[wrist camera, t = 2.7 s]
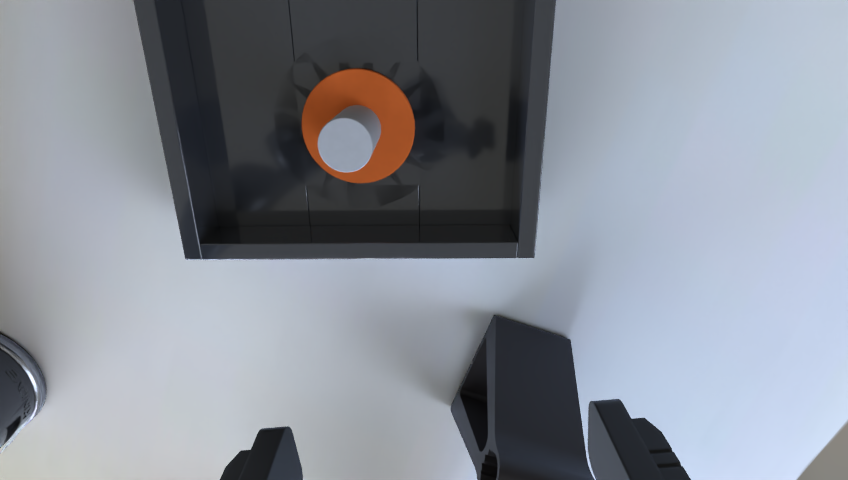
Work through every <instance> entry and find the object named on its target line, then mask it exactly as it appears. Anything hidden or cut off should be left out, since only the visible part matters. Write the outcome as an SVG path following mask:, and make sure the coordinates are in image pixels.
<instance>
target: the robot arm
mask: <svg viewBox="0 0 848 480" xmlns="http://www.w3.org/2000/svg"><path fill="white" fill-rule="evenodd" d="M45 399H46V384H45V380H44V377H43V374H42V372H41V370H40V368H39V367H38V365H37V364H36V362H35V361H34V360H33V358H32V357H31V356H30V355H29V354H28V353H27V352H26V351H25V350H24V349H23V348H21V347H20V346H19V345H18V344H16V343H15V342H13V341H12V340H10V339H9V338H7V337H5V336H3V335H1V334H0V448H1V447H2V446H3V445H4V444H5V443H6V442H7V441H8V440H9V439H10V440H9V441H8V442H7V444H6V445H5V447H4V448H3V449H2V451H3V450H4V449H5V448H6V447H7V446H8V445H9V444H10V443H11V442H12V441H13V440H14V439H15V437H16V436H17V434H18V433H19V432H20V430H21V429H22V428H23V427H24V426H25V425H27V424H28V423H29V422H30V421H31V420H32V419H33V418H34V417H35V416H36V415H37V414H38V413H39V412H40V410H41V409H42V407H43V405H44V403H45ZM2 451H1V452H2ZM1 452H0V453H1ZM588 453H589V459H590V463H591V467H592V470H593V473H594V476H595V478H596V480H691V479H690V478H689V476H688V474H687V473H686V471H685V470H684V468H683V466H681V464H680V461H679V460H678V458H677V457H676V455H675V453H674V452H672V448H671V447H670V445H669V443H668V442H667V440H666V439H665V437H664V435H663V434H662V432H661V431H660V430H659V429H657V428H656V427H655V426H654V425H652V424H651V423H650V422H649V421H647V420H646V419H645V418H636V419H631V417H630V416H629V414H628V412H627V410H626V408H625V407H624V405H623V403H622V402H621V400H619V399H612V400H601V401H591V402H590V403H589V417H588ZM220 480H303V474H302V467H301V463H300V460H299V456H298V452H297V448H296V444H295V440H294V436H293V433H292V430H291V428H290V427H288V426H287V427H275V428H264V429H261V430H260V431H259V432H258V434H257V437H256V439H255V441H254V444H253V446H252V448H251V450H244V451H240V452H239V453H238V454H237V455H236V456H235V458H234V459H233V460H232V461H231V462H230V463H229V464H228V465H227V466H226V468H225V470H224V472H223V474H222V476H221V478H220Z"/></svg>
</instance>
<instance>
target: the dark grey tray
mask: <svg viewBox="0 0 848 480" xmlns="http://www.w3.org/2000/svg"><path fill="white" fill-rule="evenodd" d="M134 5H135V10H136V15H137V20H138V25H139V30H140V35H141V40H142V45H143V50H144V55H145V60H146V65H147V70H148V75H149V80H150V85H151V90H152V95H153V100H154V105H155V110H156V115H157V120H158V125H159V130H160V135H161V140H162V145H163V150H164V155H165V160H166V164H167V169H168V174H169V179H170V184H171V189H172V194H173V199H174V204H175V209H176V214H177V219H178V224H179V229H180V234H181V239H182V244H183V249H184V254H185V259H186V260H202V259H203V260H254V259H419V258H534V257H535V246H536V234H537V222H538V210H539V198H540V186H541V174H542V162H543V150H544V138H545V126H546V113H547V101H548V89H549V77H550V65H551V53H552V41H553V29H554V17H555V5H556V0H524V4H523V20H522V37H521V53H520V69H519V86H518V102H517V118H516V135H515V151H514V167H513V184H512V200H511V216H510V225H509V224H506V225H344V226H220V227H219V222H218V217H217V211H216V205H215V199H214V193H213V187H212V181H211V175H210V169H209V163H208V157H207V151H206V146H205V140H204V134H203V128H202V122H201V116H200V110H199V104H198V98H197V92H196V86H195V80H194V75H193V69H192V63H191V57H190V51H189V45H188V39H187V33H186V27H185V21H184V15H183V9H182V3H181V0H134Z"/></svg>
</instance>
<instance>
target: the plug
mask: <svg viewBox="0 0 848 480" xmlns="http://www.w3.org/2000/svg"><path fill="white" fill-rule="evenodd" d="M302 133H303V138H304V141H305V144H306V147H307V149H308V151H309V153H310V154H311V156H312V158H313V159H314V160H315V161H316V163H317V164H318V165H319V166H320V167H321V168H322V169H324V170H325V171H326V172H327V173H329V174H331V175H332V176H334V177H336V178H338V179H340V180H344V181H347V182H352V183H370V182H375V181H378V180H381V179H383V178H385V177H387V176H389V175H391V174H392V173H394V172H395V171H396V170H397V169H398V168H399V167H400V166H401V165H402V164H403V163H404V161H405V160H406V158H407V157H408V155H409V153H410V151H411V148H412V145H413V141H414V135H415V120H414V115H413V111H412V108H411V105H410V103H409V101H408V99H407V97H406V96H405V94H404V93H403V91H402V90H401V89H400V88H399V87H398V86H397V85H396V84H395V83H394V82H393V81H392V80H390V79H389V78H387V77H386V76H384V75H382V74H380V73H378V72H375V71H372V70H367V69H360V68H353V69H346V70H341V71H338V72H336V73H333V74H331V75H329V76H327V77H326V78H324V79H323V80H322V81H320V82H319V83H318V84H317V85H316V86H315V87H314V89H313V90H312V91H311V93H310V94H309V96H308V98H307V100H306V103H305V105H304V109H303V113H302Z"/></svg>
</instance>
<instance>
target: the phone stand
mask: <svg viewBox="0 0 848 480" xmlns="http://www.w3.org/2000/svg"><path fill="white" fill-rule="evenodd" d="M451 413H452V415H453V417H454V420H455V422H456V424H457V427H458V429H459V431H460V434H461V436H462V438H463V441H464V443H465V445H466V448H467V450H468V452H469V455H470V457H471V459H472V462H473V464H474V466H475V469H476V473H477V479H478V480H594V478H593V476H592V474H591V472H590V469H589V466H588V463H587V458H586V451H585V444H584V436H583V429H582V421H581V414H580V407H579V399H578V392H577V384H576V377H575V369H574V362H573V355H572V347H571V340H570V339H567V338H564V337H561V336H558V335H555V334H552V333H548V332H545V331H542V330H539V329H536V328H533V327H530V326H527V325H524V324H521V323H517V322H514V321H511V320H508V319H505V318H502V317H499V316H496V315H494V316H493V318H492V320H491V323H490V325H489V327H488V329H487V331H486V333H485V335H484V337H483V339H482V342H481V344H480V346H479V348H478V350H477V352H476V354H475V356H474V358H473V362H472V364H471V365H470V367H469V369H468V371H467V373H466V375H465V377H464V380H463V382H462V384H461V386H460V388H459V390H458V392H457V394H456V396H455V399H454V401H453V403H452V405H451Z"/></svg>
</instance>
